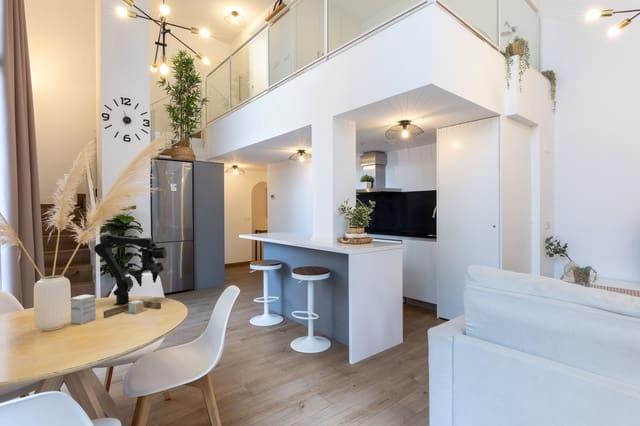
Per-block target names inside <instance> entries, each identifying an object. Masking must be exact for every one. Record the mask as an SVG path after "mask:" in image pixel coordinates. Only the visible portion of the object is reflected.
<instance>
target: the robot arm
mask: <svg viewBox="0 0 640 426" xmlns="http://www.w3.org/2000/svg"><path fill="white" fill-rule="evenodd" d="M116 244H124V245H131V246H137V247H138V248H139V247H140V248H139V249H138V250H137V252H138V253H139V252H140V253H141V260H140V261H139V262H140V263H141V267H140V269H139V268H135V269H131V270H130V271H129V276H127V275H126V274H124V272H123V270H122V268H121V266H120V265H119V264H118V261H117V260H116V258H115V257H114V256H113V249H112V247H114V246H115V245H116ZM93 250H94V252H95V253H96V254H97V255H98V256H99V257H100V258H101V259H103V260H104V262H105V264H106V265H107V267H108V268H109V270H110V271H111V274H112V275H113V277H114V278H115V285H116V288H115V290H114V291H113V295H114V296H115V297H116V299H115V300H116V301H115V303H113V305H115V306H122V305H125V304H128V303H129V302H131V301H130V300H129V299H130V297H129V296H130V295H129V292H131V289H133V287H134V280H133V279H132V277H134V279H135V280H136V282H137V284H138V286H139V287H142V284H143V281H142V279H143V276H144V275H143V273H147V272H150V273H151V276H152V277H151V278H152V283H154V284H156V282H157V278H158V276H159V274H160V273H162V272H163V271H164V270H165V268H164V265H163V263H162V262H156V263H155V259H166V258H167V253H168V252H167V249H166V247H165V246H162V247H160V246H159V247H158V245H156V243H155V242H154V239H153V238H152V237H139V238H135V237H127V236H121V235H120V236H119V235H112V236H110V237H109V238H107V239H106V240H104V241H101V242H100V243H98V244H96V245H94V248H93ZM131 276H132V277H131Z"/></svg>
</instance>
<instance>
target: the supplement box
mask: <svg viewBox="0 0 640 426" xmlns="http://www.w3.org/2000/svg"><path fill="white" fill-rule="evenodd" d="M95 320H96V295H95V294H94V295H93V294H80V295H77V296H74V297H71V298H70V324H78V325H84V324H87V323H89V322H92V321H95Z"/></svg>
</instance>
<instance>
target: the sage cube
mask: <svg viewBox="0 0 640 426" xmlns="http://www.w3.org/2000/svg"><path fill="white" fill-rule="evenodd" d="M139 300H140V299H136V300H132V301H130V302H129V310H128V311H129V312H133V313H136V312H139V311H142V310H144V309H145V308H144V307H143V301H139Z"/></svg>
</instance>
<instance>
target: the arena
mask: <svg viewBox="0 0 640 426" xmlns="http://www.w3.org/2000/svg"><path fill="white" fill-rule="evenodd" d="M138 300H139V301H143V308H145V307H146V308H145V309H147V308H148V309H153V310H161V309H162V302H161V301H159V302H158V301H152V300H145V299H144V300H143V299H138ZM127 311H129V303H128V304H124V305H118V306H115V307H112V308H109V309H106V310H103V319H107V318H109V317H113V316H115V315H119V314H122V313H124V312H127Z"/></svg>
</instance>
